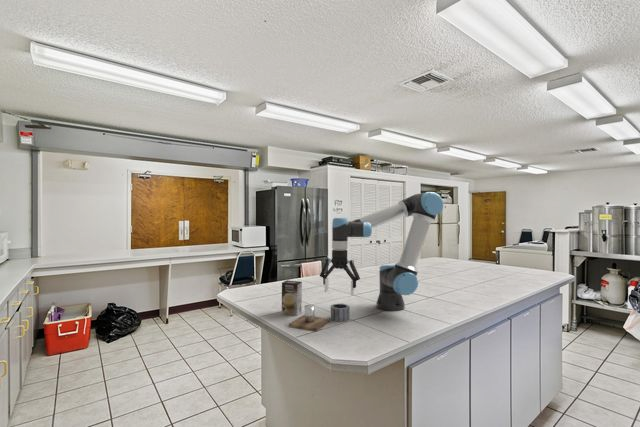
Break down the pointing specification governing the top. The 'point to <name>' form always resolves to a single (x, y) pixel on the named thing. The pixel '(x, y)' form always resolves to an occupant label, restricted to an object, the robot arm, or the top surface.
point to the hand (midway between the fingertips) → (339, 293)
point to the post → (309, 314)
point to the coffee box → (291, 297)
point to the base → (309, 326)
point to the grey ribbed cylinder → (340, 312)
